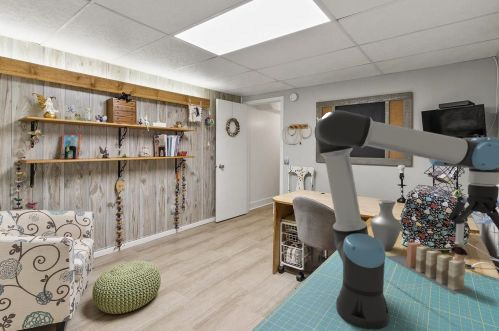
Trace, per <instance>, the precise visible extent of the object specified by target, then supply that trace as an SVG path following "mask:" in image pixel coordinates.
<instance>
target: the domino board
mask: <svg viewBox="0 0 499 331" xmlns="http://www.w3.org/2000/svg"><path fill="white" fill-rule="evenodd" d="M385 258H387V259H389V260H391V262H395V263H396V264H398V265H400V266H402V267H403V268H405V269H407V270H409V271H411V272H412V273H415V274H417V275H418V276H420V277H422V278H424V279H426V280H428V281H429V282H431V283H433V284H435V285H436V286H439V287H440V288H443V289H444V290H446V291H448V292H449V293H451V294H454V295H458V294H464V293H471V292H474V290H473V289H471V288H470V287H467V286H465V285H464V289H459V290H452V289H450V288H448V283H444V284H440V283H438V282H437V281H436V277H434V278H429V277H427V276H425V273H426V272H421V273H420V272H418V271H416V267H412V268H410V267H408V266H406V265H407V256H404V255H402V254H397V255H395V254H394V255H388V256H386V255H385Z"/></svg>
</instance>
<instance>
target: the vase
mask: <svg viewBox="0 0 499 331" xmlns="http://www.w3.org/2000/svg"><path fill="white" fill-rule="evenodd" d="M377 203H378V205H379V210H380V211H379V213H378V214H377V216H374V217H373V218H371V219H370V228H371V232H372V236H373V237H375V238H377V239H378V240H380V241H381V242H382V244H383V245H384V248H385V251H392V250H393V248H394V246H395V244H396V243H397V241H398V238H399V235H400V233H401V231H402V228H403V225H402V222H400V220H398V219H397V218H396V217H395V215H394V213H393V209H394V207H395V204H396V203H397V201H395V200H392V199H377Z"/></svg>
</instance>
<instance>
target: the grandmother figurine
mask: <svg viewBox="0 0 499 331" xmlns="http://www.w3.org/2000/svg"><path fill="white" fill-rule="evenodd" d="M465 243H466V242H465V240H464V239H463V242H454V245H456V246H452V247H451V248H450V250H449V253H450V254H453V252H454V257H453V260H462V261H465V260H470V259H469V258H470V257H469V254H468V252H467V250H466V249H464V246H465Z"/></svg>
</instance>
